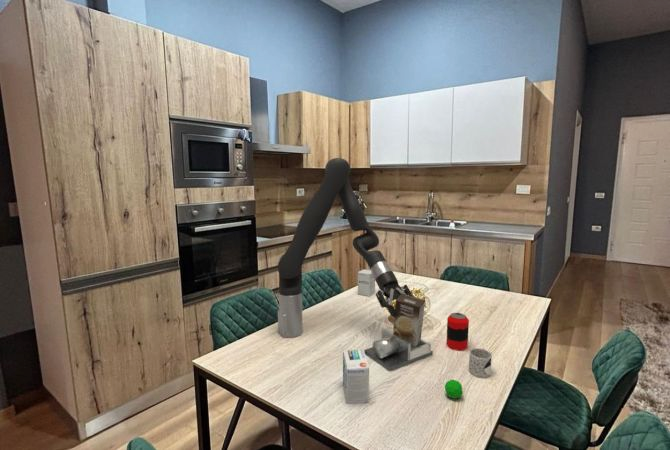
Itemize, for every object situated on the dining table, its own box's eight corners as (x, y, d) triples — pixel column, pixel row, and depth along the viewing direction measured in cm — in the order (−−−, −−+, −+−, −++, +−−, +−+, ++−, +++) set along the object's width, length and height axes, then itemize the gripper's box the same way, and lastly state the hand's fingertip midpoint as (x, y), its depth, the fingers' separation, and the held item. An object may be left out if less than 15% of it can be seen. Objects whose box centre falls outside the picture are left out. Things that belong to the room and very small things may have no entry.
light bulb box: (342, 382, 111) (342, 350, 109) (363, 381, 111) (363, 349, 110) (346, 404, 100) (346, 368, 99) (369, 403, 101) (370, 367, 99)
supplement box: (357, 294, 192) (357, 272, 190) (363, 290, 198) (363, 268, 196) (369, 297, 188) (369, 273, 186) (375, 293, 194) (375, 270, 192)
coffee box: (391, 339, 129) (394, 299, 124) (398, 331, 134) (401, 292, 130) (415, 348, 124) (419, 307, 120) (421, 339, 130) (425, 299, 125)
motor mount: (389, 371, 117) (390, 350, 116) (364, 353, 128) (364, 334, 127) (432, 355, 127) (433, 335, 126) (405, 340, 139) (405, 321, 138)
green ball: (458, 391, 106) (459, 376, 105) (465, 401, 101) (465, 386, 100) (442, 391, 106) (442, 376, 105) (447, 402, 101) (448, 386, 100)
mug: (488, 380, 111) (489, 360, 110) (466, 374, 115) (467, 355, 114) (493, 366, 120) (494, 347, 119) (472, 360, 123) (473, 342, 122)
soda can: (467, 343, 136) (468, 313, 134) (467, 352, 129) (469, 320, 127) (446, 340, 139) (447, 310, 137) (446, 349, 132) (447, 318, 130)
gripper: (372, 273, 130) (393, 312, 121) (402, 267, 137) (424, 304, 128) (364, 283, 135) (383, 322, 126) (393, 278, 142) (413, 314, 133)
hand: (404, 313), depth 127 cm, fingers closed on coffee box, 7 cm apart
